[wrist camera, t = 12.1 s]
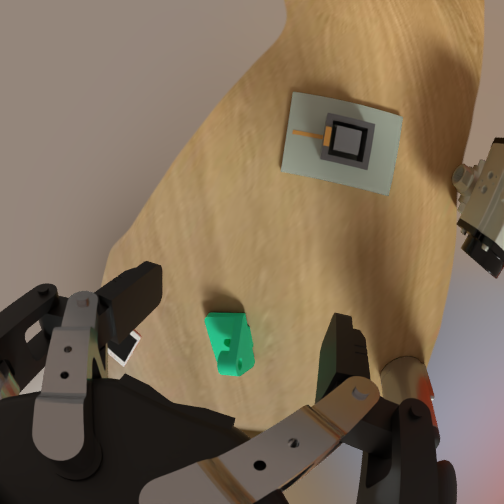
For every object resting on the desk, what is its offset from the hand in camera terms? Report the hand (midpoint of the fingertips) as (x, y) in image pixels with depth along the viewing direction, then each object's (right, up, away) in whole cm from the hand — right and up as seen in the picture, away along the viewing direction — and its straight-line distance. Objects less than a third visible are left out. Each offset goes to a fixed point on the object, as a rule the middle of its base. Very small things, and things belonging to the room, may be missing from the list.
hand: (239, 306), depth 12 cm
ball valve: (+34, +13, +20) cm, 42 cm away
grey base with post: (+13, +18, +23) cm, 32 cm away
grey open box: (+13, +17, +22) cm, 31 cm away
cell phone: (-34, -21, +52) cm, 65 cm away
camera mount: (-3, -14, +40) cm, 43 cm away
